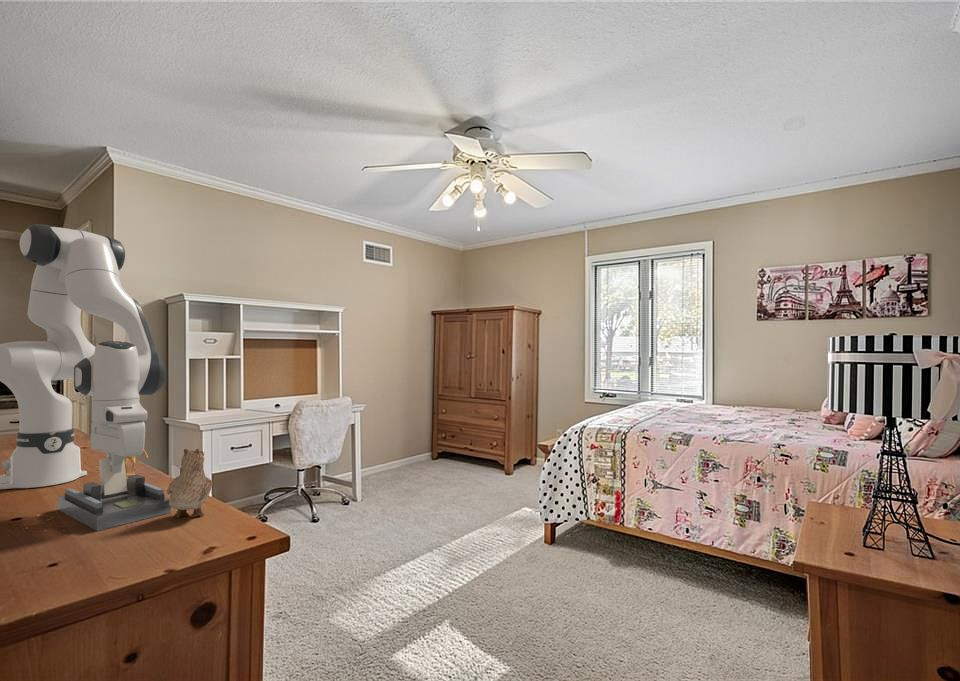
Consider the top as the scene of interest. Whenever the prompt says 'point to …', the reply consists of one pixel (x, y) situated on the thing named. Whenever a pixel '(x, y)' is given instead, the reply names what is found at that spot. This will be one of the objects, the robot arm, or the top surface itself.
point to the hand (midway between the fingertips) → (115, 472)
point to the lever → (112, 481)
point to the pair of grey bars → (97, 505)
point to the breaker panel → (116, 506)
